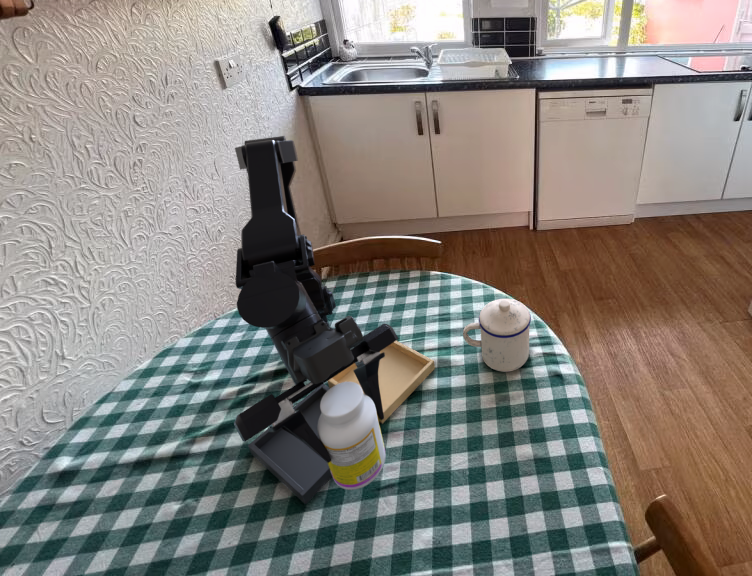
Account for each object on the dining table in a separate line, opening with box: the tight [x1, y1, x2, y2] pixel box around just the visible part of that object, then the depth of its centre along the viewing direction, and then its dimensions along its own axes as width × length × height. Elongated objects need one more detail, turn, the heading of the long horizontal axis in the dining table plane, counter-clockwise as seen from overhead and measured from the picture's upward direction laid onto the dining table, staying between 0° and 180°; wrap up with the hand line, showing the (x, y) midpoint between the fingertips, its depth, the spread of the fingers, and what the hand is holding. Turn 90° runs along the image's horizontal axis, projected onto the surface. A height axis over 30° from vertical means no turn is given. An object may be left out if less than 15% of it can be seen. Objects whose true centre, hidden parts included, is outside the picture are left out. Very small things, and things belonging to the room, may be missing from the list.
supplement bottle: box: [317, 382, 386, 491], centre depth 51 cm, size 7×7×13 cm
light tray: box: [327, 340, 436, 425], centre depth 71 cm, size 13×12×2 cm
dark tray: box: [247, 383, 333, 505], centre depth 61 cm, size 13×12×2 cm
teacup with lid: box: [462, 298, 532, 373], centre depth 73 cm, size 12×9×12 cm
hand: (356, 439), depth 50 cm, fingers closed on supplement bottle, 6 cm apart
